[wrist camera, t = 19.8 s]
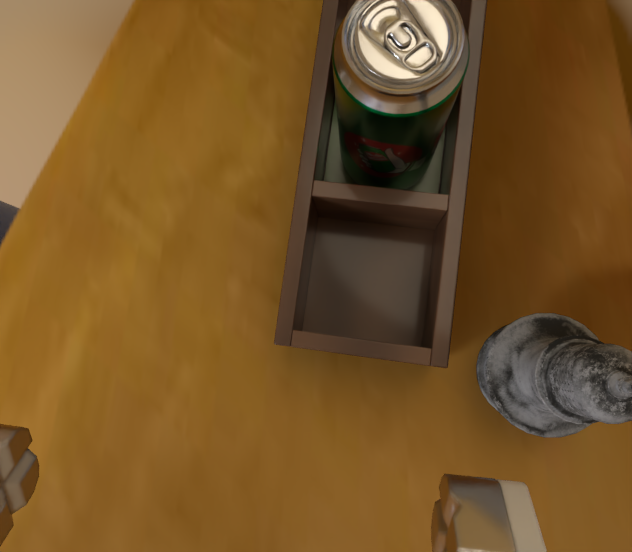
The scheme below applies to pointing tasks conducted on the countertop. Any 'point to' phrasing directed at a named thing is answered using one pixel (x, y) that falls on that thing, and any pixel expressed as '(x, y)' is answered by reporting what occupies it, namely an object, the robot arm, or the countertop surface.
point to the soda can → (396, 86)
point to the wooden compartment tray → (376, 230)
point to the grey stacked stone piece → (555, 376)
